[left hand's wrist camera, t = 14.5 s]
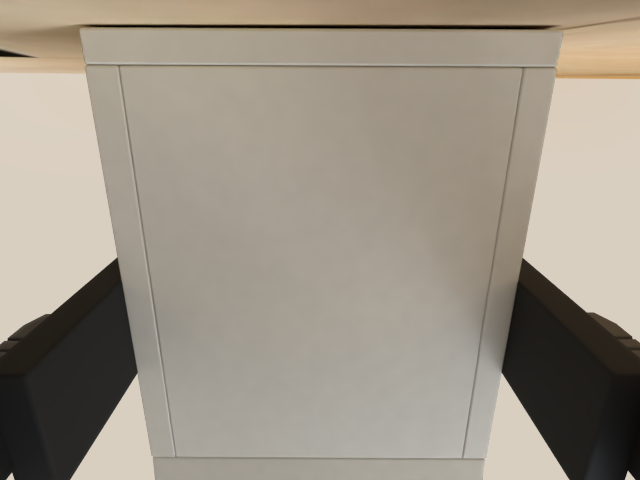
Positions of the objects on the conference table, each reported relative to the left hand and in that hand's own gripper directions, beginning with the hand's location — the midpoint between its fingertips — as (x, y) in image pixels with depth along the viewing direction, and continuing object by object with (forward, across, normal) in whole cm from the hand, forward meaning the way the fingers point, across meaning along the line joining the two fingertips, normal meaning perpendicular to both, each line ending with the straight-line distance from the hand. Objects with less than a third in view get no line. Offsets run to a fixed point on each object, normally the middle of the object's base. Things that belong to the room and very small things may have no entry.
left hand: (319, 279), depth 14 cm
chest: (+5, 0, -7) cm, 8 cm away
